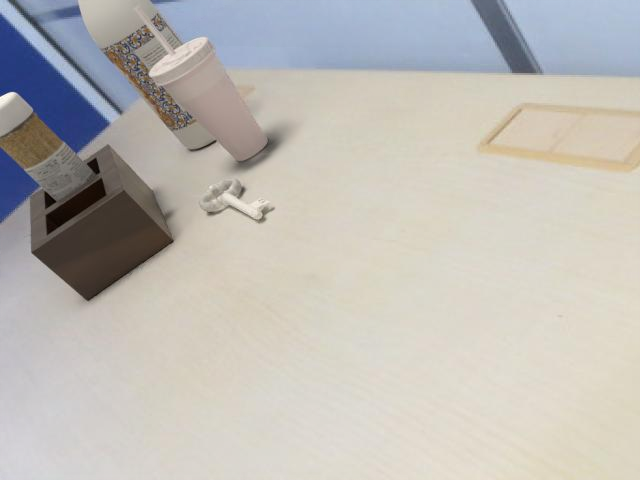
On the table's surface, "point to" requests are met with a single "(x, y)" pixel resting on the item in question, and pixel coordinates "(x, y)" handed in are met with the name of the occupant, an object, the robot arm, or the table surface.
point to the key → (230, 199)
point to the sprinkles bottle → (39, 149)
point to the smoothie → (207, 93)
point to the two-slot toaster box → (98, 226)
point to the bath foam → (141, 58)
